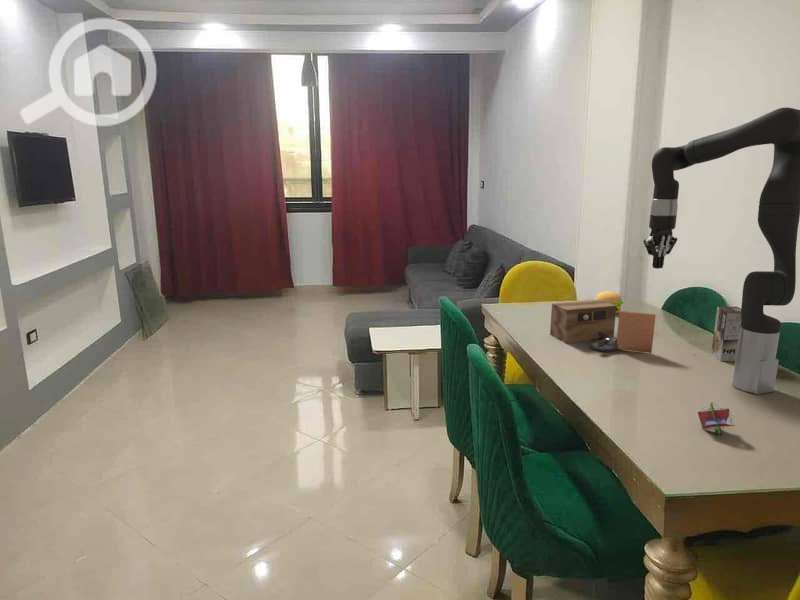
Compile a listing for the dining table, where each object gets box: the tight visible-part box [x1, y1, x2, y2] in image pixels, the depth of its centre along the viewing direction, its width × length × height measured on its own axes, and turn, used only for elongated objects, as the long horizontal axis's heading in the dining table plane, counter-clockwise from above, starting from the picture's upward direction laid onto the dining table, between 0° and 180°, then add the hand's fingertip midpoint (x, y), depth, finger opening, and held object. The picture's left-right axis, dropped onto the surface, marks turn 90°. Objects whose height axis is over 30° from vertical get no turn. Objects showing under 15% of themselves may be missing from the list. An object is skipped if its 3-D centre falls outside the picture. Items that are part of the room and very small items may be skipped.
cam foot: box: [589, 310, 657, 354], centre depth 187 cm, size 20×14×13 cm
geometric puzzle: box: [697, 401, 735, 437], centre depth 131 cm, size 7×7×8 cm
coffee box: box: [711, 305, 741, 363], centre depth 179 cm, size 9×6×16 cm
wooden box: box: [549, 299, 616, 344], centre depth 201 cm, size 12×20×12 cm, turn 106°
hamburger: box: [593, 290, 624, 314], centre depth 236 cm, size 12×12×9 cm
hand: (657, 267), depth 178 cm, fingers closed
